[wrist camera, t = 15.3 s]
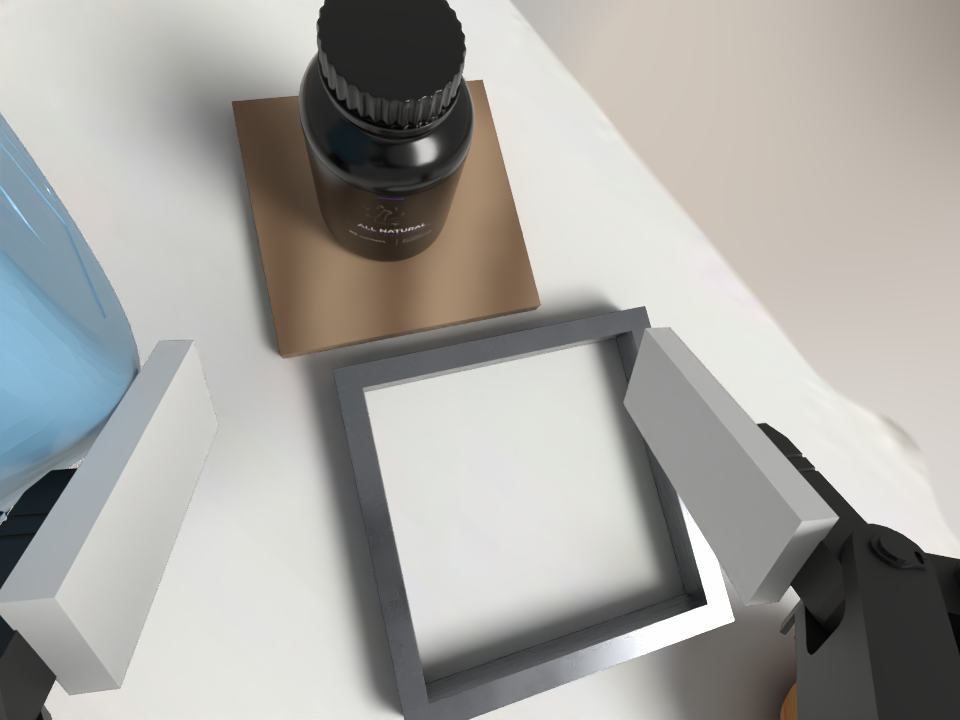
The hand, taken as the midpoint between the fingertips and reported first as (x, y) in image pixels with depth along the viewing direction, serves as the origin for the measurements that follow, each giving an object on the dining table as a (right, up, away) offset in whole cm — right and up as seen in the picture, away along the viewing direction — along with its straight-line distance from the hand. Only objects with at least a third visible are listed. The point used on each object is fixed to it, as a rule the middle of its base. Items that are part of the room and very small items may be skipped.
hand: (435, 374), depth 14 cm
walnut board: (-4, +9, +15) cm, 18 cm away
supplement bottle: (-4, +9, +14) cm, 17 cm away
